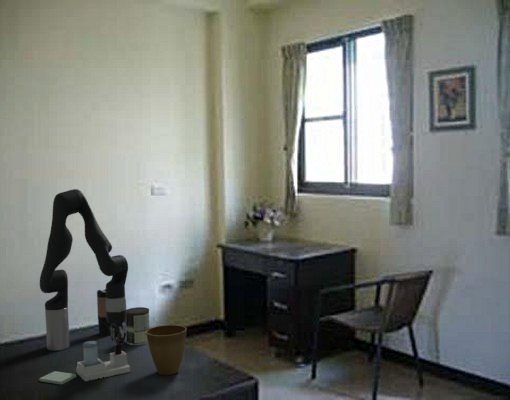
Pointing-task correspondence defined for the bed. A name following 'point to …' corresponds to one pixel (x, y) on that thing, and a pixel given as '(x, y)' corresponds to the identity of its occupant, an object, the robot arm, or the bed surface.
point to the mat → (57, 377)
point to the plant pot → (167, 347)
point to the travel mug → (102, 313)
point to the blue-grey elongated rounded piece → (90, 353)
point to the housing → (104, 367)
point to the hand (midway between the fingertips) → (118, 353)
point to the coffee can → (137, 325)
